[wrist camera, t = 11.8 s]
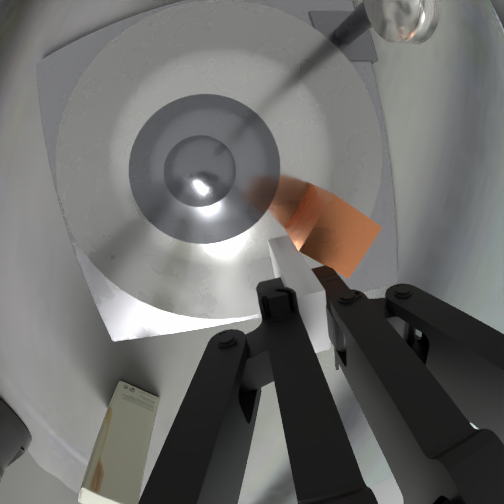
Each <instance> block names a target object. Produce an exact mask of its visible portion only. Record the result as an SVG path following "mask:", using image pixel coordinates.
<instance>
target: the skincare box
mask: <svg viewBox="0 0 504 504" xmlns="http://www.w3.org/2000/svg"><path fill="white" fill-rule="evenodd" d="M159 399H160V398H159V397H156V396H154V395H152V394H149V393H147V392H145V391H143V390H141V389H138V388H136V387H134V386H132V385H129V384H127V383H125V382H123V381H119V383H118V385H117V387H116V389H115V391H114V394H113V396H112V399H111V401H110V404H109V407H108V409H107V412H106V415H105V417H104V420H103V423H102V426H101V428H100V431H99V434H98V437H97V440H96V442H95V445H94V448H93V451H92V454H91V457H90V460H89V463H88V466H87V470H86V473H85V476H84V479H83V482H82V486H81V489H80V492H79V498H78V502H80V503H82V504H138V502H139V497H140V491H141V486H142V480H143V475H144V470H145V464H146V459H147V454H148V449H149V444H150V440H151V435H152V430H153V426H154V421H155V417H156V412H157V408H158V404H159Z"/></svg>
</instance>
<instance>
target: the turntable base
mask: <svg viewBox="0 0 504 504" xmlns="http://www.w3.org/2000/svg"><path fill="white" fill-rule="evenodd" d="M197 1H205V0H184V1H180V2H176V3H172V4H169V5H165V6H162V7H159V8H155V9H152V10H149V11H146V12H143V13H140V14H137V15H134V16H132V17H129V18H126V19H124V20H121V21H118V22H116V23H113V24H111V25H109V26H106V27H104V28H102V29H99V30H97V31H95V32H93V33H90V34H88V35H86V36H84V37H82V38H80V39H78V40H76V41H74V42H72V43H70V44H68V45H66V46H64V47H63V48H61V49H59V50H57V51H55V52H54V53H52V54H50V55H48V56H47V57H45V58H43V59H42V60H40V61H38V62H37V63H36V66H37V82H38V93H39V102H40V110H41V118H42V125H43V131H44V137H45V143H46V148H47V153H48V158H49V163H50V167H51V172H52V176H53V180H54V184H55V188H56V192H57V196H58V200H59V203H60V207H61V210H62V214H63V217H64V221H65V224H66V227H67V230H68V233H69V236H70V239H71V242H72V245H73V248H74V251H75V254H76V256H77V259H78V262H79V265H80V267H81V270H82V272H83V275H84V278H85V280H86V283H87V285H88V287H89V290H90V292H91V295H92V297H93V299H94V302H95V304H96V306H97V308H98V311H99V313H100V315H101V317H102V319H103V321H104V324H105V326H106V328H107V330H108V332H109V334H110V336H111V338H112V340H113V341H121V340H129V339H136V338H143V337H150V336H157V335H164V334H170V333H176V332H182V331H188V330H194V329H200V328H206V327H211V326H217V325H222V324H227V323H233V322H238V321H243V320H248V319H253V318H258V317H262V316H261V313H260V314H256V315H251V316H246V317H241V318H230V319H199V318H192V317H186V316H181V315H176V314H173V313H170V312H166V311H163V310H160V309H157V308H155V307H153V306H150V305H148V304H146V303H143V302H141V301H139V300H138V299H136V298H134V297H133V296H131V295H129V294H128V293H126V292H124V291H123V290H122V289H120V288H119V287H118V286H116V285H115V284H114V283H113V282H111V281H110V280H109V279H108V278H107V277H106V276H105V275H104V274H103V273H102V272H101V271H100V270H99V269H98V268H97V267H96V266H95V265H94V264H93V263H92V262H91V260H90V259H89V258H88V256H87V255H86V254H85V253H84V251H83V250H82V248H81V247H80V245H79V243H78V242H77V240H76V238H75V236H74V235H73V233H72V231H71V229H70V226H69V224H68V222H67V219H66V217H65V214H64V211H63V208H62V204H61V201H60V197H59V193H58V186H57V178H56V146H57V139H58V132H59V128H60V124H61V120H62V116H63V113H64V110H65V107H66V105H67V103H68V100H69V98H70V95H71V93H72V91H73V89H74V87H75V86H76V84H77V82H78V80H79V79H80V77H81V75H82V74H83V72H84V71H85V70H86V68H87V67H88V66H89V64H90V63H91V62H92V61H93V59H94V58H95V57H96V56H97V55H98V54H99V53H100V52H101V51H102V50H103V49H104V48H105V47H106V46H107V45H108V44H109V43H110V42H111V41H112V40H113V39H114V38H116V37H117V36H118V35H119V34H121V33H122V32H123V31H125V30H126V29H127V28H129V27H131V26H132V25H134V24H136V23H137V22H139V21H141V20H143V19H144V18H146V17H148V16H150V15H153V14H155V13H158V12H160V11H163V10H165V9H168V8H171V7H174V6H178V5H182V4H186V3H190V2H197ZM239 1H246V2H252V3H258V4H262V5H265V6H269V7H272V8H275V9H278V10H281V11H283V12H286V13H288V14H290V15H292V16H294V17H296V18H299V19H301V20H302V21H304V22H305V23H307V24H309V25H310V26H312V27H313V24H312V21H311V18H310V14H309V11H354V10H355V9H354V6H353V3H352V0H239ZM313 28H314V27H313ZM350 62H351V64H352V65H353V67H354V68H355V70H356V71H357V73H358V74H359V76H360V77H361V79H362V81H363V83H364V85H365V87H366V89H367V91H368V93H369V95H370V97H371V100H372V102H373V106H374V109H375V112H376V115H377V118H378V123H379V128H380V134H381V141H382V170H381V179H380V186H379V190H378V194H377V198H376V202H375V206H374V208H373V211H372V213H371V216H370V219H371V220H373V221H374V222H375V223H377V224H378V225H380V226H381V227H382V228H381V230H380V232H379V233H378V235H377V236H376V238H375V240H374V241H373V243H372V244H371V246H370V247H369V249H368V251H367V252H366V254H365V255H364V257H363V258H362V260H361V261H360V263H359V264H358V266H357V267H356V269H355V270H354V272H353V273H352V275H351V276H350V278H349V279H348V278H346V277H344V276H342V275H340V274H339V273H337V272H336V273H337V275H339V276H340V277H341V279H342V280H343V281H344V282H345V283H346V285H347V286H348V287H349V288H350V289H355V290H358V291H361V292H366V291H370V290H373V289H377V288H380V287H384V286H387V285H391V284H394V283H397V244H396V221H395V205H394V193H393V183H392V173H391V165H390V157H389V150H388V143H387V136H386V130H385V124H384V119H383V113H382V108H381V103H380V98H379V94H378V89H377V85H376V80H375V76H374V72H373V68H372V64H371V61H350Z"/></svg>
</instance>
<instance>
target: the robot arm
mask: <svg viewBox="0 0 504 504" xmlns="http://www.w3.org/2000/svg"><path fill="white" fill-rule="evenodd" d="M268 245H269V250H270V255H271V260H272V265H273V270H274V275H275V278H274V279H270V280H266V281H262V282H259V283H258V285H257V287H256V291H257V296H258V303H259V308H260V312H261V316H262V322H261V324H260V326H259V327H258V328H256V329H255V330H254V331H252V332H250V333H248V334H246V335H245V334H244V333H243V332H242V331H239V330H233V329H230V330H225V331H222V332H220V333H217V334H216V335H214V336H213V337H212V338H211V339H210V341H209V342H208V345H207V347H206V349H205V351H204V354H203V356H202V358H201V360H200V363H199V365H198V367H197V370H196V372H195V374H194V376H193V379H192V381H191V383H190V386H189V388H188V390H187V392H186V395H185V397H184V399H183V402H182V404H181V406H180V408H179V411H178V413H177V415H176V418H175V420H174V422H173V424H172V427H171V429H170V431H169V434H168V436H167V438H166V441H165V443H164V445H163V447H162V450H161V452H160V454H159V457H158V459H157V461H156V464H155V466H154V468H153V470H152V473H151V475H150V477H149V480H148V482H147V484H146V487H145V489H144V491H143V494H142V496H141V498H140V500H139V503H138V504H237V503H238V499H239V495H240V490H241V486H242V482H243V477H244V473H245V468H246V464H247V459H248V455H249V450H250V445H251V441H252V436H253V431H254V426H255V421H256V416H257V411H258V406H259V401H260V396H261V387H263V386H265V385H267V384H269V383H271V382H273V381H274V382H275V387H276V393H277V398H278V403H279V408H280V413H281V418H282V423H283V429H284V434H285V439H286V444H287V449H288V454H289V459H290V464H291V470H292V475H293V480H294V485H295V490H296V495H297V500H298V504H378V502H377V500H376V497H375V495H374V493H373V492H372V490H371V489H370V488H369V487H367V486H366V484H365V483H364V480H363V478H362V475H361V472H360V469H359V467H358V464H357V461H356V458H355V456H354V453H353V450H352V447H351V445H350V442H349V439H348V437H347V434H346V431H345V429H344V426H343V423H342V421H341V418H340V415H339V413H338V410H337V407H336V405H335V402H334V400H333V397H332V394H331V392H330V389H329V386H328V384H327V381H326V379H325V376H324V374H323V371H322V368H321V366H320V363H319V361H318V358H317V356H316V353H318V352H321V351H325V350H328V349H331V347H330V340H331V342H332V344H333V346H334V352H335V367H336V370H339V365H340V367H341V369H342V371H343V373H344V375H345V377H346V379H347V381H348V383H349V385H350V387H351V389H352V391H353V393H354V395H355V397H356V399H357V401H358V403H359V405H360V407H361V409H362V411H363V413H364V415H365V417H366V419H367V421H368V423H369V425H370V427H371V429H372V431H373V433H374V435H375V437H376V439H377V442H378V444H379V446H380V448H381V450H382V452H383V454H384V456H385V458H386V460H387V462H388V465H389V467H390V469H391V471H392V473H393V475H394V477H395V479H396V482H397V484H398V486H399V488H400V490H401V493H402V495H403V499H404V504H504V334H502V333H501V332H499V331H497V330H495V329H493V328H492V327H490V326H488V325H486V324H484V323H483V322H481V321H479V320H477V319H475V318H474V317H472V316H470V315H468V314H466V313H464V312H463V311H461V310H459V309H457V308H455V307H453V306H451V305H449V304H448V303H446V302H444V301H442V300H440V299H438V298H436V297H434V296H432V295H430V294H428V293H427V292H425V291H423V290H421V289H419V288H417V287H415V286H412V285H409V284H396V285H394V286H391V287H390V288H388V289H387V291H386V293H385V298H378V299H368V298H367V296H366V295H365V294H364V293H362V292H361V291H358V290H355V289H350V288H349V287H348V286H347V285H346V283H345V282H344V281H343V280H342V279H341V277H340V276H339V275H337V273H336V271H335V270H334V269H333V268H331V267H328V266H326V265H324V266H320V267H316V268H312V269H311V268H310V267H309V265H308V264H307V262H306V261H305V260H304V258H303V257H302V255H301V254H300V252H299V251H298V249H297V248H296V246H295V245H294V244H293V242H292V241H291V239H290V238H289V236H288V235H286V236H281V237H277V238H272V239H268ZM416 329H418V330H419V331H421V332H422V337H419V336H417V335H416ZM467 419H468V420H469V421H470V422H471V423H473V424H474V425H475V426H476V427H478V428H479V430H477V429H475V428H473V427H472V426H471V425H470V423H469V422H468V420H467ZM30 443H31V436H30V433H29V431H28V430H27V428H26V427H25V425H24V424H23V423H22V421H21V420H20V419H19V418H18V416H17V415H16V414H15V413H14V412H13V411H12V410H11V409H10V408H9V407H8V406H7V405H6V404H5V403H4V402H3V401H2V400H1V399H0V481H1V478H2V476H3V474H4V471H5V470H6V468H7V467H8V466H10V464H12V463H13V462H14V461H15V460H16V459H18V458H19V457H20V456H21V455H22V454H23V453H25V452H26V451H27V449H28V447H29V445H30Z"/></svg>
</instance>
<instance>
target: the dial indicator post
mask: <svg viewBox="0 0 504 504" xmlns="http://www.w3.org/2000/svg"><path fill="white" fill-rule="evenodd" d="M309 14H310V18H311V21H312V24H313V27H314V28H315V29H316V30H318V31H319V32H320V33H322V34H323V35H324V36H325V37H326V38H328V39H329V40H330V41H331V42H332V43H333V44H334V45H336V46H337V48H338V49H339V50H340V51H341V52H342V53H343V54H344V55H345V57H346V58H347V59H348V60H349V61H371V64H373V63H374V62H376V61H378V58H377V54H376V51H375V47H374V44H373V41H372V37H371V34H370V31H369V29H370V28H371V27H372V26H373V28H374V29H375V31H376V32H377V33H378V34H379V35H380V36H381V37H382V38H384V39H385V40H387V41H390V42H399V43H409V44H420V43H423V42H425V41H426V40H428V39H429V38H430V37H431V36H432V34H433V33H434V31H435V29H436V27H437V25H438V21H439V16H440V0H363V2H362V3H361V4H360V5H359V6H358V7H357V8H356V9H355V10H354V11H309Z"/></svg>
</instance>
